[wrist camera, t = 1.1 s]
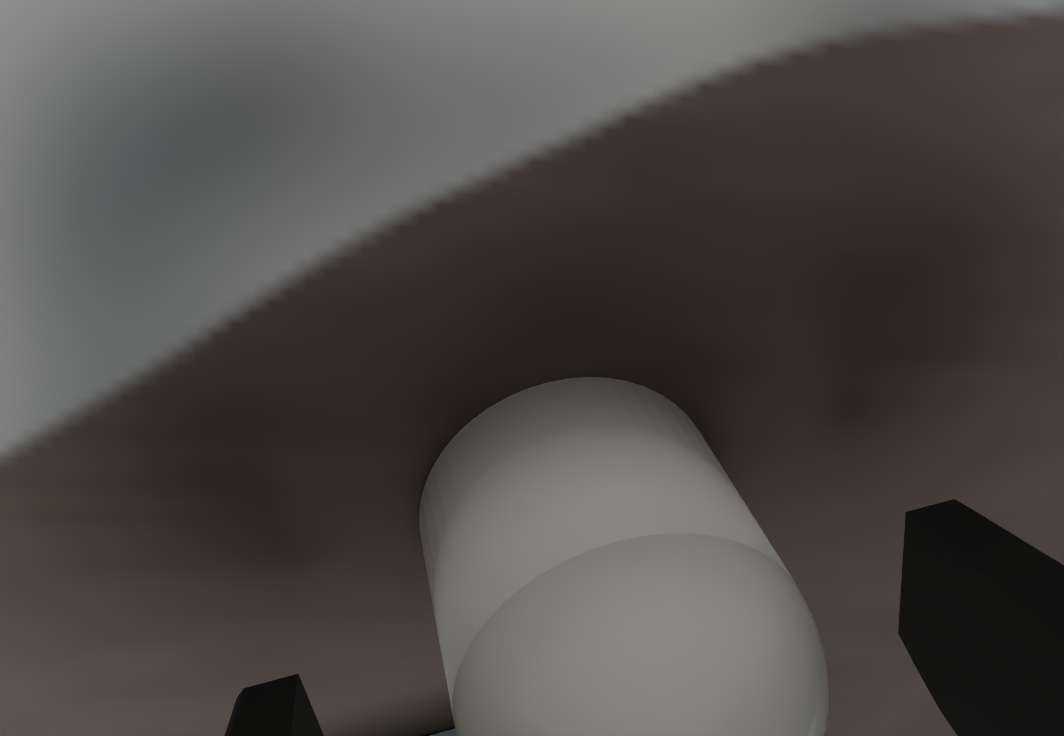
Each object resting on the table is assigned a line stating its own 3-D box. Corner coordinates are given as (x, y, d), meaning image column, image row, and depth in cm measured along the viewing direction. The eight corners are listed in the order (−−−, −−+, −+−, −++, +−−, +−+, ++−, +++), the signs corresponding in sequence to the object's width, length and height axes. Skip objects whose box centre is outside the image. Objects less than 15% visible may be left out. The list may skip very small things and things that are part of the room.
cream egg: (717, 576, 15) (894, 903, 11) (450, 648, 15) (521, 1019, 11) (701, 344, 13) (917, 635, 9) (387, 420, 13) (443, 769, 8)
